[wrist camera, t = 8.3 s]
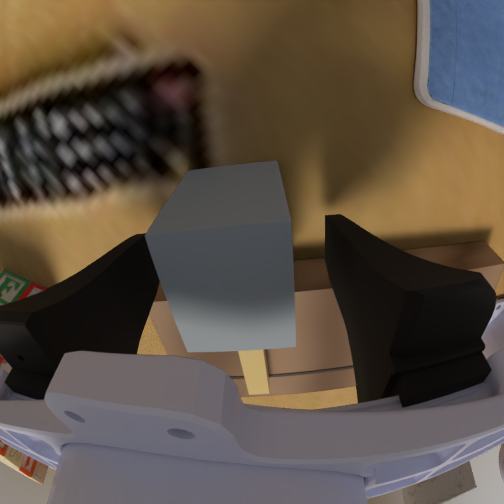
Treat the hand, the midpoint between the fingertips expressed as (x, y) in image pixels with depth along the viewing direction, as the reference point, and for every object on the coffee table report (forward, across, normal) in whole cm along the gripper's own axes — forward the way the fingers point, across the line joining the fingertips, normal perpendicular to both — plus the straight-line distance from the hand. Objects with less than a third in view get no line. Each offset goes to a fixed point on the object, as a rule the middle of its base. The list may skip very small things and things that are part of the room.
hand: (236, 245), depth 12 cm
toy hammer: (+3, 0, +3) cm, 4 cm away
